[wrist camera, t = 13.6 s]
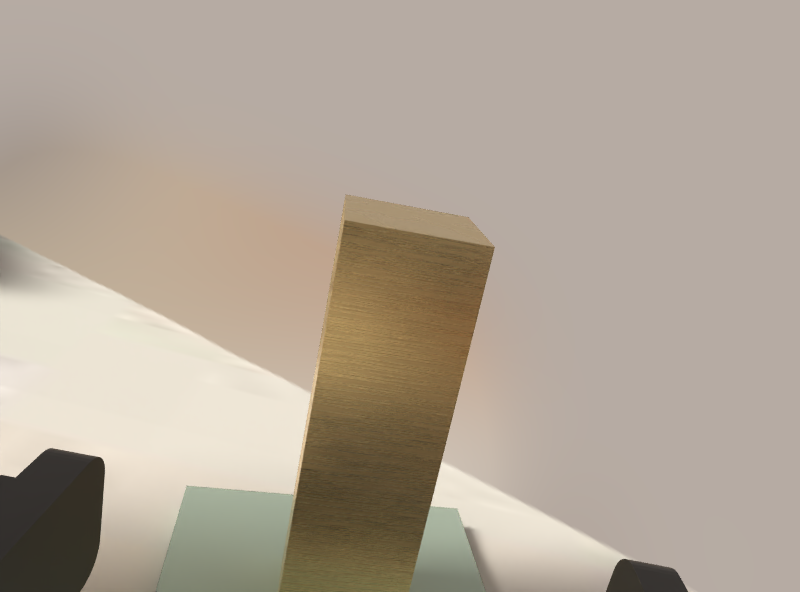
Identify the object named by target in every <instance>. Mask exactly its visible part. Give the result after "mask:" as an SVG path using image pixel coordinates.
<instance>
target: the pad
mask: <svg viewBox="0 0 800 592" xmlns="http://www.w3.org/2000/svg"><path fill="white" fill-rule="evenodd" d="M292 501H293V495H290V494H278V493H267V492H255V491H243V490H231V489H219V488H208V487H196V486H187V487H186V490H185V493H184V497H183V500H182V504H181V507H180V510H179V514H178V517H177V521H176V524H175V527H174V531H173V534H172V538H171V541H170V544H169V548H168V551H167V555H166V558H165V561H164V565H163V568H162V572H161V575H160V578H159V582H158V585H157V588H156V592H278V586H279V579H280V572H281V565H282V558H283V553H284V547H285V541H286V535H287V530H288V524H289V518H290V512H291V507H292ZM409 592H486V591H485V588H484V585H483V582H482V579H481V576H480V573H479V571H478V568H477V565H476V562H475V559H474V556H473V553H472V550H471V547H470V544H469V542H468V539H467V536H466V533H465V530H464V527H463V524H462V521H461V518H460V515H459V513H458V510H457V509H455V508H444V507H432V506H430V509H429V513H428V517H427V521H426V525H425V529H424V533H423V537H422V541H421V545H420V549H419V553H418V557H417V561H416V565H415V569H414V573H413V577H412V582H411V586H410V590H409Z"/></svg>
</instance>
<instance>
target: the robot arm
mask: <svg viewBox="0 0 800 592" xmlns="http://www.w3.org/2000/svg"><path fill="white" fill-rule="evenodd" d="M104 476H105V465H104V461H103V459H102V458H100V457H95V456H90V455H85V454H79V453H74V452H69V451H64V450H58V449H53V448H50V449H47V450H45V451H44V452H43V453H42V454H41V455H39V456H38V457H37V458H36V459H35V460H34V461H33V462H32V463H31V464H30V465H29V466H28V467H27V468H26V469H24V470H23V471H22V472H21V473H20V474H19V475H18V476H17V477H16V478H15V477H9V476H4V475H0V592H80V591H81V589H82V588H83V586H84V585H85V583H86V581H87V579H88V577H89V575H90V573H91V571H92V568H93V566H94V563H95V560H96V557H97V553H98V549H99V544H100V532H101V518H102V504H103V490H104ZM606 592H688V591H687V589H686V587H685V585H684V583H683V582H682V580H681V578H680V576H679V575H678V573H677V572H676V571H675V570H674V569H672V568H669V567H663V566H659V565H654V564H648V563H642V562H638V561H633V560H627V559H622V560H620V561H619V562H618V563H617V565H616V567H615V569H614V571H613V574H612V577H611V579H610V582H609V585H608V588H607V591H606Z"/></svg>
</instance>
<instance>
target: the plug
mask: <svg viewBox="0 0 800 592" xmlns="http://www.w3.org/2000/svg"><path fill="white" fill-rule="evenodd" d="M494 248H495V247H494V246H493V245H492V243H490V241H489V240H488V239H487V238H486V237H485V236H484V234H483V233H482V232H481V231H480V230H479V229H478V228H477V227H476V225H475V224H474V223H473V222H472V221H471V220H470V219H469V217H464V216H458V215H453V214H448V213H442V212H437V211H432V210H426V209H421V208H415V207H410V206H405V205H399V204H394V203H389V202H383V201H378V200H372V199H367V198H362V197H356V196H351V195H346V196H345V201H344V207H343V213H342V219H341V224H340V231H339V236H338V242H337V247H336V254H335V259H334V265H333V271H332V276H331V282H330V288H329V294H328V299H327V305H326V311H325V317H324V322H323V328H322V334H321V340H320V345H319V351H318V357H317V363H316V368H315V374H314V380H313V386H312V391H311V397H310V403H309V409H308V414H307V420H306V426H305V432H304V437H303V443H302V449H301V455H300V460H299V466H298V472H297V478H296V483H295V489H294V495H293V501H292V507H291V512H290V518H289V524H288V530H287V535H286V541H285V547H284V553H283V558H282V565H281V572H280V579H279V586H278V592H409V590H410V586H411V582H412V577H413V573H414V569H415V565H416V561H417V557H418V553H419V549H420V545H421V541H422V537H423V533H424V529H425V525H426V521H427V517H428V513H429V509H430V505H431V501H432V497H433V493H434V489H435V485H436V481H437V477H438V473H439V469H440V465H441V461H442V456H443V453H444V449H445V445H446V441H447V437H448V433H449V429H450V425H451V421H452V417H453V413H454V409H455V404H456V401H457V397H458V393H459V389H460V385H461V381H462V377H463V373H464V368H465V365H466V361H467V357H468V353H469V349H470V344H471V340H472V336H473V333H474V329H475V324H476V321H477V317H478V312H479V308H480V305H481V300H482V296H483V292H484V288H485V284H486V280H487V276H488V272H489V268H490V264H491V260H492V256H493V252H494Z"/></svg>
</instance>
